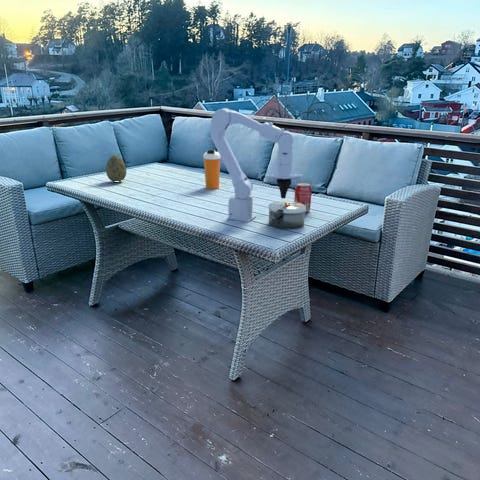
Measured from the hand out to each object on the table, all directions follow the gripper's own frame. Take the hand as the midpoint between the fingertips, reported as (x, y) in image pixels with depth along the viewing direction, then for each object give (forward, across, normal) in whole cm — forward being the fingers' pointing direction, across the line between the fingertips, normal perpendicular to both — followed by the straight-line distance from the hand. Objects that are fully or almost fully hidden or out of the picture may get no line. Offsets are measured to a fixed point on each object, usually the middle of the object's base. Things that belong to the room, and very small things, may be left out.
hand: (283, 197), depth 164 cm
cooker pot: (+9, 0, -6) cm, 11 cm away
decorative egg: (+10, -79, +74) cm, 109 cm away
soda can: (+10, +11, +12) cm, 19 cm away
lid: (+3, 0, -6) cm, 7 cm away
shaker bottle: (+10, -26, +58) cm, 64 cm away
